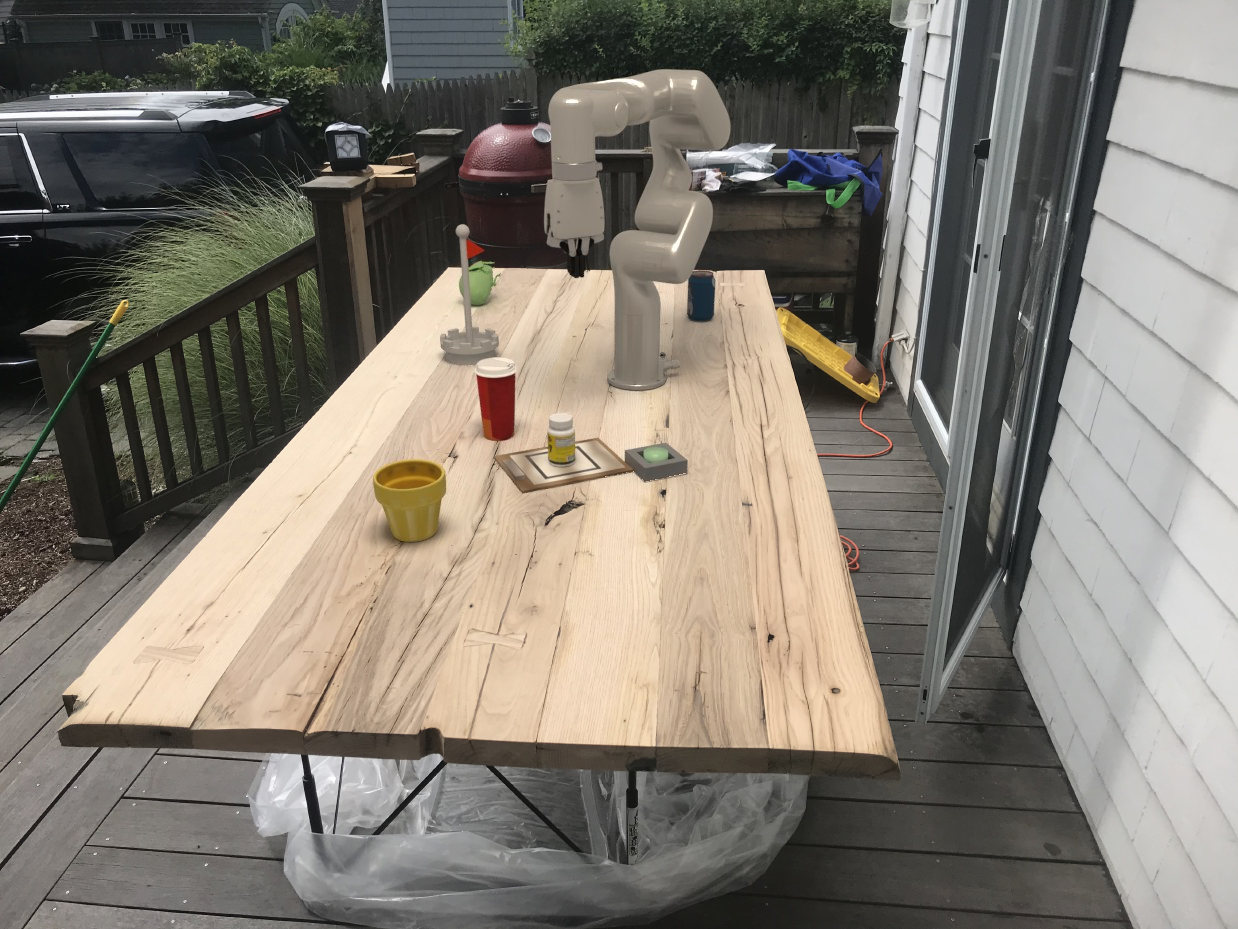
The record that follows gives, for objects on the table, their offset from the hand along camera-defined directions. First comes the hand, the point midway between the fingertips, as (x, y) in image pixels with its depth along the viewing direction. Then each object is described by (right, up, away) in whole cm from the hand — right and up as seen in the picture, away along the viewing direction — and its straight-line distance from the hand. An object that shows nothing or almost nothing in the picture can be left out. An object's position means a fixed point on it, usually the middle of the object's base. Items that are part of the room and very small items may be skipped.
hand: (576, 275), depth 172 cm
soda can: (+29, +3, +73) cm, 79 cm away
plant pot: (-23, -45, -29) cm, 58 cm away
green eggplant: (-30, +9, +86) cm, 91 cm away
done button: (+14, -34, -9) cm, 38 cm away
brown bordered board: (-2, -34, -8) cm, 35 cm away
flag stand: (-26, -10, +44) cm, 52 cm away
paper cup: (-15, -29, +4) cm, 33 cm away
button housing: (+14, -35, -9) cm, 39 cm away
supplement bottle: (-2, -34, -8) cm, 35 cm away
